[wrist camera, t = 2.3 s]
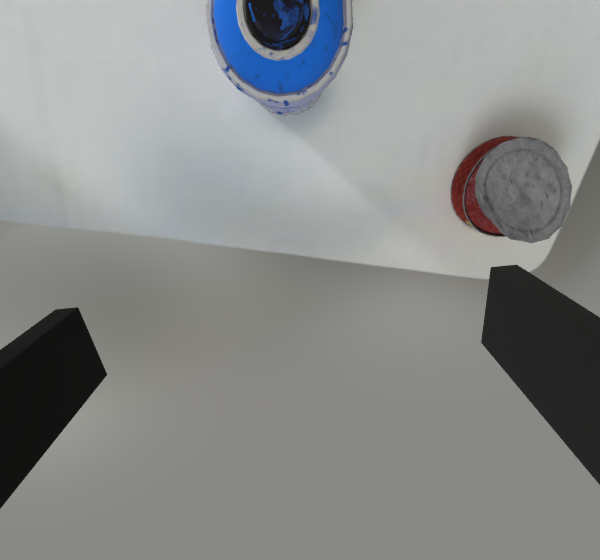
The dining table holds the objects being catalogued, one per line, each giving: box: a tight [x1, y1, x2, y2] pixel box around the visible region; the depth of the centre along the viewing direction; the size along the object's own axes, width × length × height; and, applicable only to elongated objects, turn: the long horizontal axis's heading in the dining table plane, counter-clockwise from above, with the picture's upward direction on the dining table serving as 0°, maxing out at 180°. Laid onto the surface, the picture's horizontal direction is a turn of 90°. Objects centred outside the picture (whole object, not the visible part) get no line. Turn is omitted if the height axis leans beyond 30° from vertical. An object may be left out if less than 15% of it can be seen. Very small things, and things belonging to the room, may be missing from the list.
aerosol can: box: [205, 0, 353, 115], centre depth 23 cm, size 8×8×20 cm
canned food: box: [451, 136, 572, 243], centre depth 34 cm, size 11×10×10 cm
